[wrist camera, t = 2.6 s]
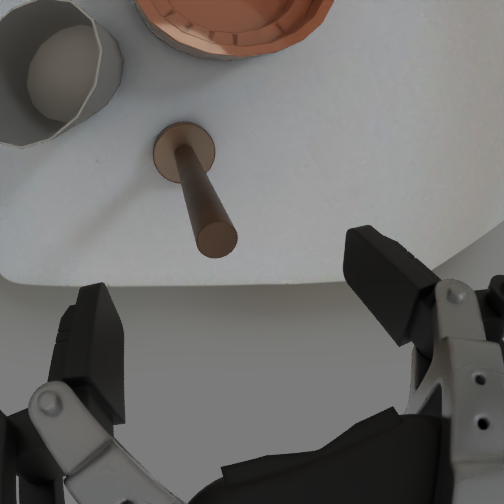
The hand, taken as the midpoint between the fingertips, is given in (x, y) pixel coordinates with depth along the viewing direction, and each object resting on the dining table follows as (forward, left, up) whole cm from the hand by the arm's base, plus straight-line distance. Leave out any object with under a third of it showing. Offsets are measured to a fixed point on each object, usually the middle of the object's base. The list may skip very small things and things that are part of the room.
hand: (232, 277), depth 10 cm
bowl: (-3, +15, -19) cm, 24 cm away
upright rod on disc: (0, 0, -19) cm, 19 cm away
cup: (-11, +4, -19) cm, 22 cm away
